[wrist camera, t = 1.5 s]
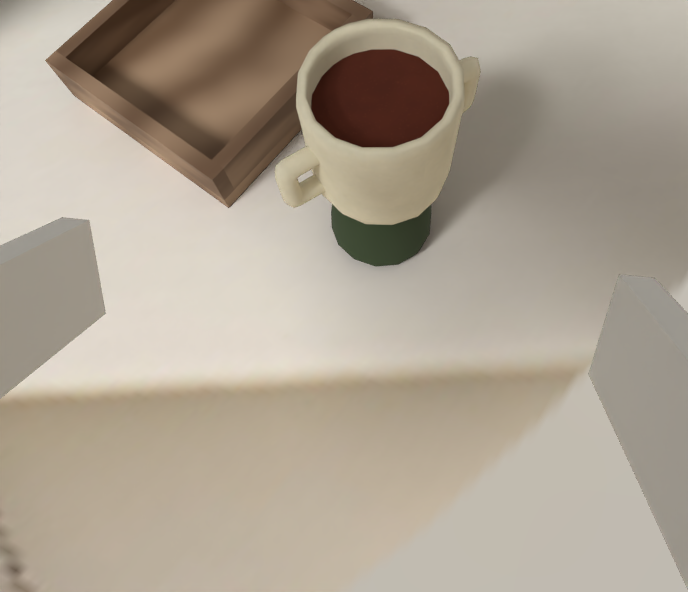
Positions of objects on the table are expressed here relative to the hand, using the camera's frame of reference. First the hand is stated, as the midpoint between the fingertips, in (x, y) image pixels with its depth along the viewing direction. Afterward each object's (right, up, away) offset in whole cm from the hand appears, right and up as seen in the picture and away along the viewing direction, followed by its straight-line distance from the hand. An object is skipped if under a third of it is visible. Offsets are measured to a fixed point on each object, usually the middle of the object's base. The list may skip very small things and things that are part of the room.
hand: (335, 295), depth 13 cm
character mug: (+3, +4, +21) cm, 21 cm away
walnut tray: (-9, +16, +25) cm, 32 cm away
